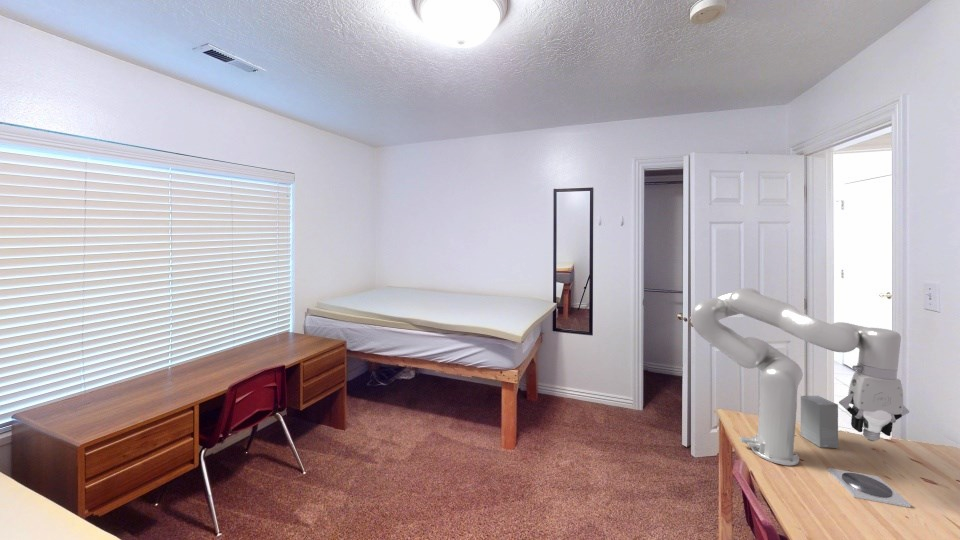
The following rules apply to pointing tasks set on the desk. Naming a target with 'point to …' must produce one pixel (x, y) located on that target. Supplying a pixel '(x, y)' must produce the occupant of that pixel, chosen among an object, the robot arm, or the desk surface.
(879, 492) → the duct plate
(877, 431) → the light bulb
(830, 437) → the skincare box
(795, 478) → the desk surface
